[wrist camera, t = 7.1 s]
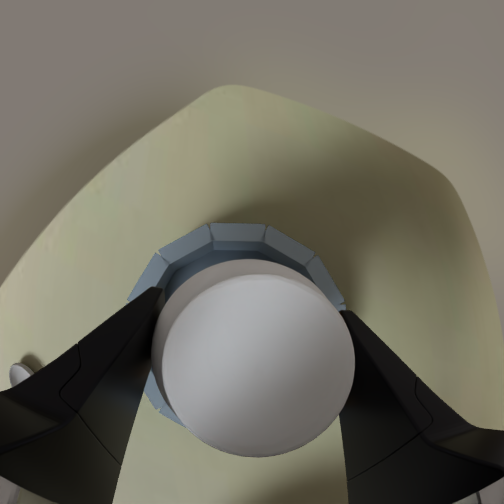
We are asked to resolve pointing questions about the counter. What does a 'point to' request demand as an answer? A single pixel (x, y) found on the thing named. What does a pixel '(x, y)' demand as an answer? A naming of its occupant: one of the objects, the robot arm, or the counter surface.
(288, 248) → the bowl
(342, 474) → the counter surface
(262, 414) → the supplement bottle
